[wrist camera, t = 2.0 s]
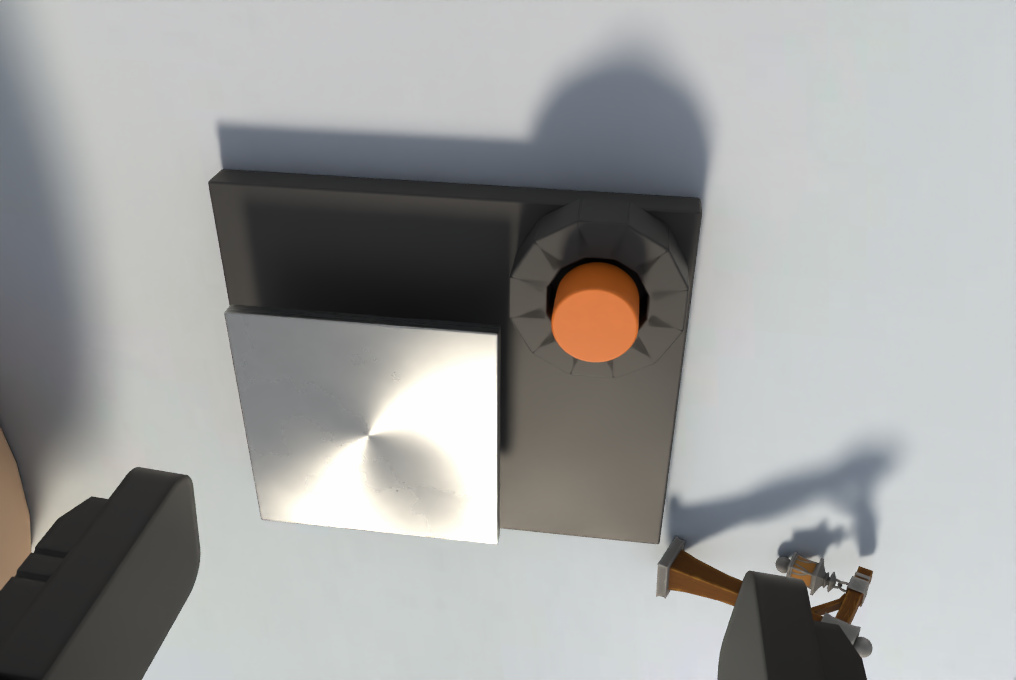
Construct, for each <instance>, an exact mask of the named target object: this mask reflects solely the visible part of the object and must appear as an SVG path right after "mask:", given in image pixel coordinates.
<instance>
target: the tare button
mask: <svg viewBox="0 0 1016 680" xmlns="http://www.w3.org/2000/svg"><path fill="white" fill-rule="evenodd" d="M551 328H552V332H553V335H554V338H555V340H556V341H557V343H558V344H559V346H560V347H561V348H562V349H563V350H564V351H565V352H567V353H568V354H570V355H571V356H573V357H575V358H577V359H580V360H583V361H587V362H605V361H609V360H612V359H615V358H617V357H619V356H621V355H622V354H624V353H625V352H626V351H627V350H628V349H629V348H630V347H631V346H632V344H633V343H634V341H635V339H636V337H637V334H638V329H639V292H638V288H637V286H636V284H635V282H634V281H633V279H632V278H631V277H630V276H629V275H628V274H627V273H626V272H625V271H623V270H622V269H620V268H619V267H617V266H614V265H612V264H608V263H603V262H591V263H586V264H582V265H579V266H577V267H575V268H573V269H572V270H571V271H569V272H568V273H567V274H566V275H565V276H564V277H563V278H562V280H561V281H560V283H559V286H558V288H557V292H556V297H555V302H554V307H553V313H552V318H551Z"/></svg>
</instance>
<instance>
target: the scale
mask: <svg viewBox="0 0 1016 680" xmlns="http://www.w3.org/2000/svg"><path fill="white" fill-rule="evenodd" d="M208 184H209V190H210V196H211V201H212V207H213V213H214V218H215V224H216V230H217V236H218V241H219V247H220V253H221V259H222V264H223V270H224V276H225V281H226V287H227V293H228V299H229V304H230V305H232V304H233V305H246V306H259V307H272V308H285V309H298V310H311V311H323V312H336V313H349V314H362V315H375V316H388V317H401V318H414V319H427V320H440V321H453V322H466V323H479V324H492V325H500V326H501V361H500V528H504V529H514V530H524V531H534V532H543V533H553V534H563V535H573V536H582V537H592V538H602V539H612V540H622V541H631V542H641V543H651V544H659V542H660V535H661V527H662V519H663V512H664V504H665V496H666V488H667V481H668V473H669V465H670V457H671V450H672V442H673V434H674V426H675V419H676V411H677V403H678V396H679V388H680V380H681V372H682V365H683V357H684V349H685V341H686V334H687V326H688V318H689V310H690V303H691V295H692V287H693V279H694V272H695V264H696V256H697V248H698V241H699V233H700V225H701V217H702V209H701V200H700V198H692V197H675V196H658V195H642V194H625V193H608V192H592V191H575V190H558V189H542V188H525V187H508V186H492V185H475V184H458V183H441V182H425V181H408V180H391V179H375V178H358V177H341V176H325V175H308V174H291V173H275V172H258V171H241V170H224V169H223V170H221V171H220V172H219V173H218V174H217V175H215V176H214V177H213V178H212V179H211V180H210V181H209V183H208ZM591 262H603V263H608V264H612V265H614V266H617V267H619V268H620V269H622V270H623V271H625V272H626V273H627V274H628V275H629V276H630V277H631V278H632V279H633V281H634V282H635V284H636V286H637V288H638V292H639V329H638V334H637V337H636V339H635V341H634V343H633V344H632V346H631V347H630V348H629V349H628V350H627V351H626V352H625V353H624V354H622V355H621V356H619V357H617V358H615V359H612V360H609V361H605V362H587V361H583V360H580V359H577V358H575V357H573V356H571V355H570V354H568V353H567V352H565V351H564V350H563V349H562V348H561V347H560V346H559V344H558V343H557V341H556V340H555V338H554V335H553V332H552V328H551V318H552V313H553V307H554V302H555V297H556V292H557V288H558V286H559V283H560V281H561V280H562V278H563V277H564V276H565V275H566V274H567V273H568V272H569V271H571V270H572V269H573V268H575V267H577V266H579V265H582V264H586V263H591Z"/></svg>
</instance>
